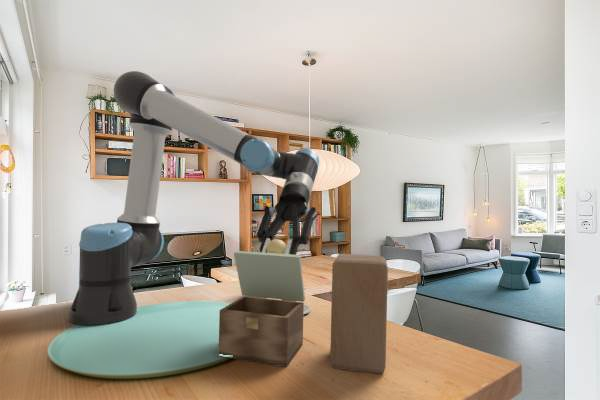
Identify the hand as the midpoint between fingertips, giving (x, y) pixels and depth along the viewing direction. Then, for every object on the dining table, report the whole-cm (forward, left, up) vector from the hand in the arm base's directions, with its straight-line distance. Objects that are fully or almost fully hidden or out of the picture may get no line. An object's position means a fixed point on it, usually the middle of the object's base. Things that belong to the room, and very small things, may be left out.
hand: (273, 265), depth 78 cm
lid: (-1, -2, -2) cm, 3 cm away
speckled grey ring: (+3, +22, -17) cm, 28 cm away
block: (+18, -8, -17) cm, 26 cm away
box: (-1, -5, -16) cm, 17 cm away
